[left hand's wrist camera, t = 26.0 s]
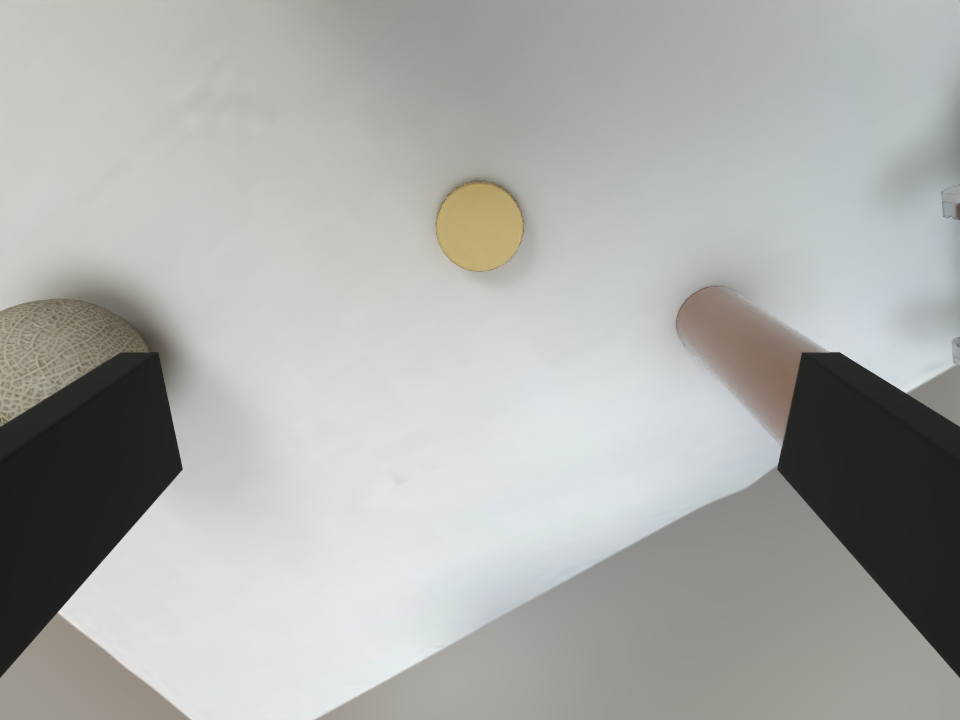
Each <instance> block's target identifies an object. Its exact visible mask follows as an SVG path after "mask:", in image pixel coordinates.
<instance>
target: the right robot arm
mask: <svg viewBox="0 0 960 720" xmlns="http://www.w3.org/2000/svg"><path fill="white" fill-rule="evenodd" d="M942 204H943V217H945V218H950V217H952V218H953V219H955V220H960V185H957V186H954V187H951V188H948V189H945V190H943V191H942ZM952 355H953V362H954V363H955V364H957V365H959V366H960V337H958V338H955V339H953V340H952Z"/></svg>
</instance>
